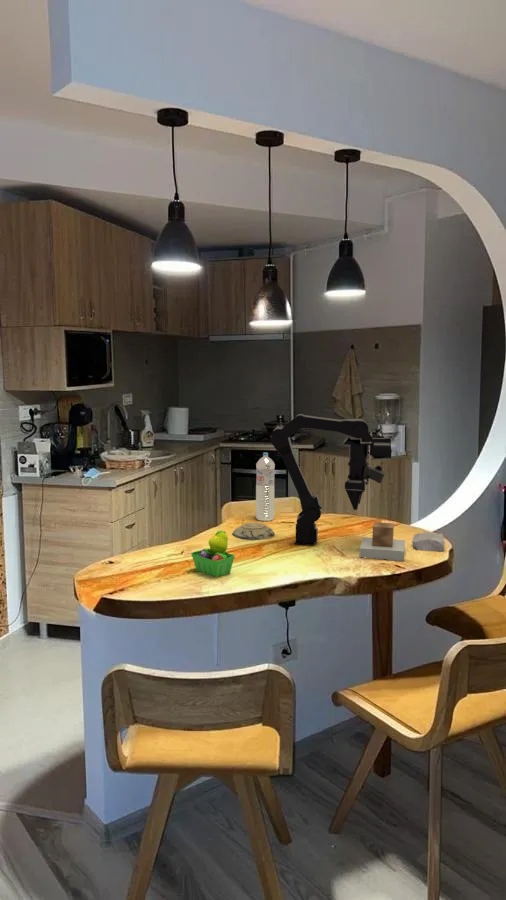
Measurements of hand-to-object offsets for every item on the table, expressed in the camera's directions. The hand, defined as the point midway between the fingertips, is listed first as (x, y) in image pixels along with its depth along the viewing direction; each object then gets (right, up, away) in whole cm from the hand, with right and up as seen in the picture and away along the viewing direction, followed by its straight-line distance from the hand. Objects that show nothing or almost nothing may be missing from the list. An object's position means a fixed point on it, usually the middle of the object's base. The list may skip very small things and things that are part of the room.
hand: (356, 506), depth 221 cm
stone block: (+23, -13, +1) cm, 26 cm away
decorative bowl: (-33, -11, +14) cm, 38 cm away
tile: (+7, -14, -8) cm, 17 cm away
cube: (+7, -11, -8) cm, 15 cm away
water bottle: (-29, -8, +35) cm, 46 cm away
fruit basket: (-44, -16, -26) cm, 54 cm away
